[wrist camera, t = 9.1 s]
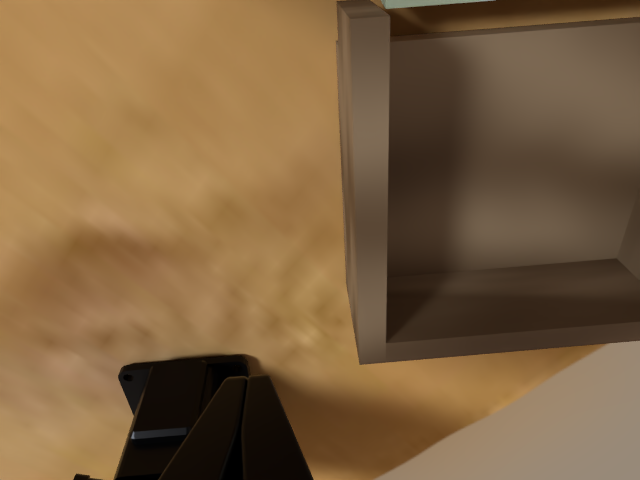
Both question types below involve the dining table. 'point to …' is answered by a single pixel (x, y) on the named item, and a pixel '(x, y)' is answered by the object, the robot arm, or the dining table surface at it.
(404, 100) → the brown hollow box
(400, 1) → the green grey flat panel
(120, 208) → the dining table surface
